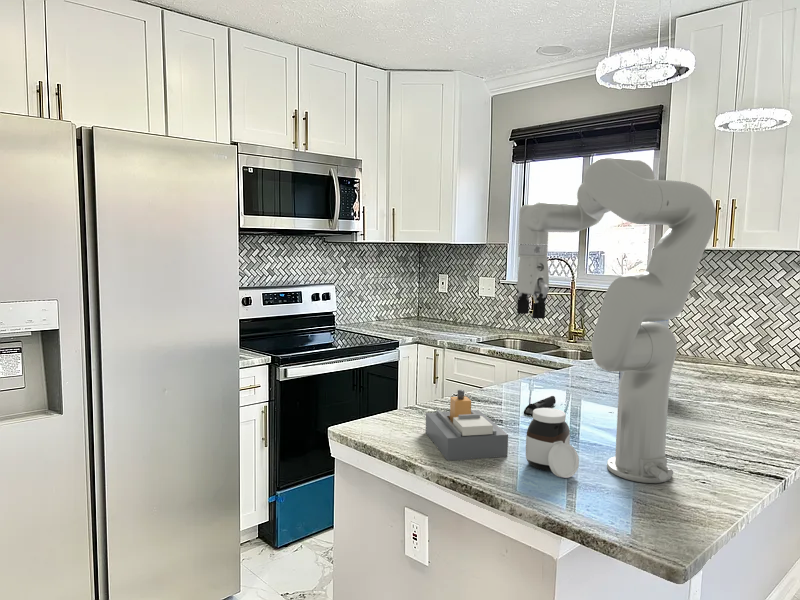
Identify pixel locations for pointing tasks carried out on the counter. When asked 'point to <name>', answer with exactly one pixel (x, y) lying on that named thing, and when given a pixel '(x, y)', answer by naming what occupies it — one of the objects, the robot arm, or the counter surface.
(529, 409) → the electric trimmer
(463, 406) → the plug
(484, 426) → the shutter
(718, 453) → the counter surface
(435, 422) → the socket
